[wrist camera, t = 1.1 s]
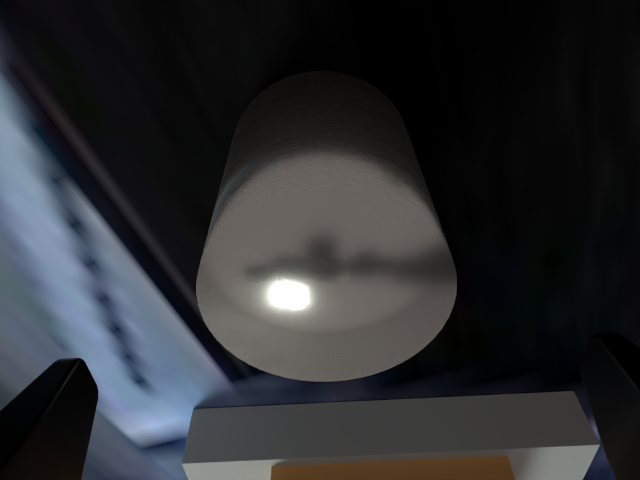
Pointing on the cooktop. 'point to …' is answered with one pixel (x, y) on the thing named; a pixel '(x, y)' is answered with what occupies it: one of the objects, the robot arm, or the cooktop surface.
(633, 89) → the cooktop surface
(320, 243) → the steel can
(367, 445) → the grey slab with frame
